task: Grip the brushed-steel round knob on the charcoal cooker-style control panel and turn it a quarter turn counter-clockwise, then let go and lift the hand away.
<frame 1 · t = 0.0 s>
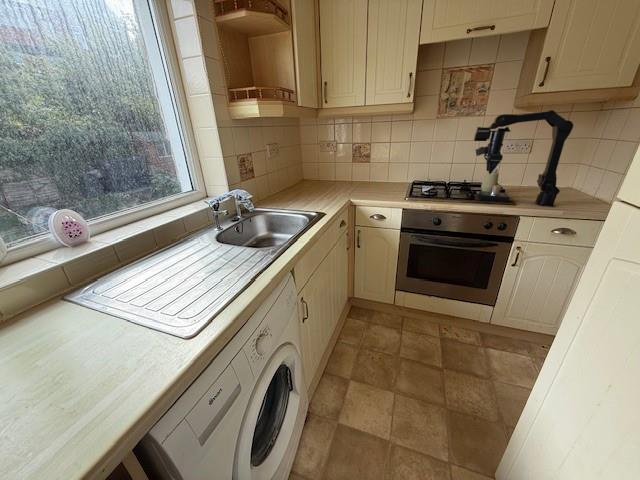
hand: (488, 172, 141), 15 cm above the countertop, tool pointing down, fingers open, 9 cm apart
dial: (495, 189, 144), point 5 cm above the countertop, hinge at 0.0°
control panel: (492, 199, 146), on the countertop
squeeze bottle: (487, 193, 159), on the countertop
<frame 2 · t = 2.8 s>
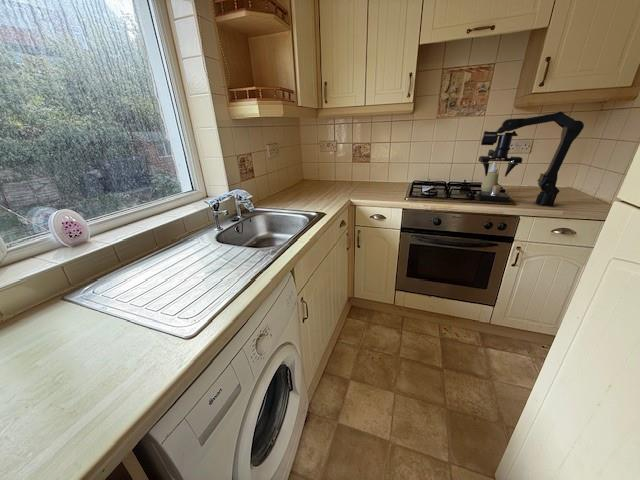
hand: (495, 176, 141), 13 cm above the countertop, tool pointing down, fingers open, 9 cm apart
nothing on the countertop moved.
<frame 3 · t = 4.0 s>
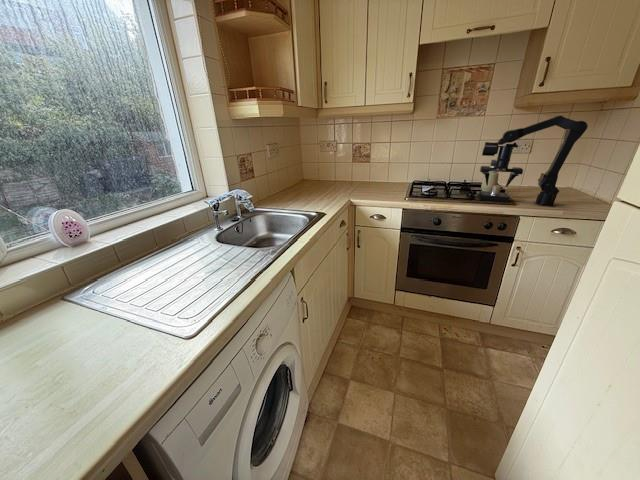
hand: (496, 186, 143), 7 cm above the countertop, tool pointing down, fingers open, 9 cm apart
nothing on the countertop moved.
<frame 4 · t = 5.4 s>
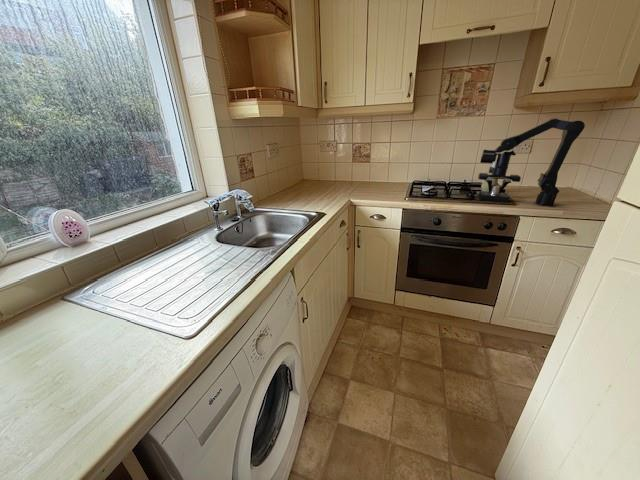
hand: (494, 193, 144), 4 cm above the countertop, tool pointing down, fingers closed on dial, 4 cm apart
dial: (495, 189, 144), point 5 cm above the countertop, hinge at 0.0°, touching gripper
everything else where it was.
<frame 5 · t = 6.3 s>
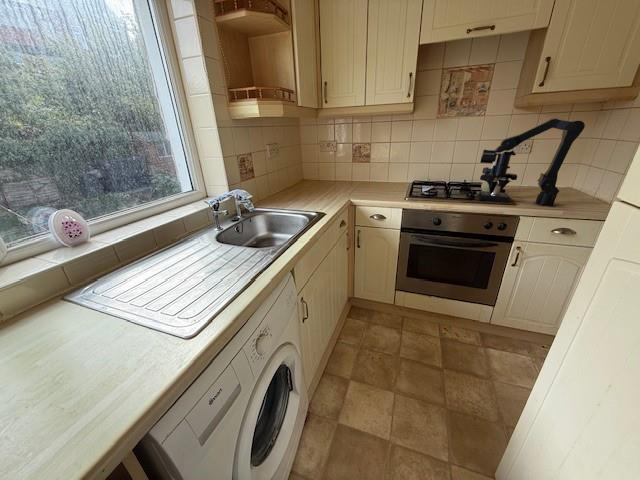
hand: (494, 193, 144), 4 cm above the countertop, tool pointing down, fingers closed on dial, 4 cm apart
dial: (495, 189, 144), point 5 cm above the countertop, hinge at 36.7°, touching gripper
everything else where it was.
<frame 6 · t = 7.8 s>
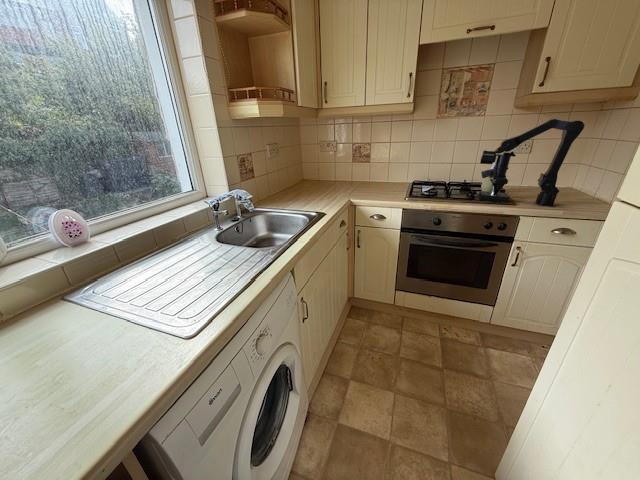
hand: (493, 193, 145), 3 cm above the countertop, tool pointing down, fingers open, 5 cm apart
dial: (495, 189, 144), point 5 cm above the countertop, hinge at 90.6°
everything else where it was.
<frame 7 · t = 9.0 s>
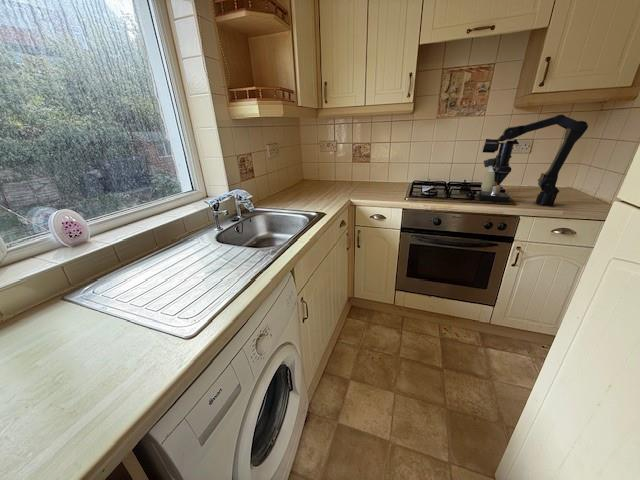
hand: (496, 183, 142), 9 cm above the countertop, tool pointing down, fingers open, 9 cm apart
nothing on the countertop moved.
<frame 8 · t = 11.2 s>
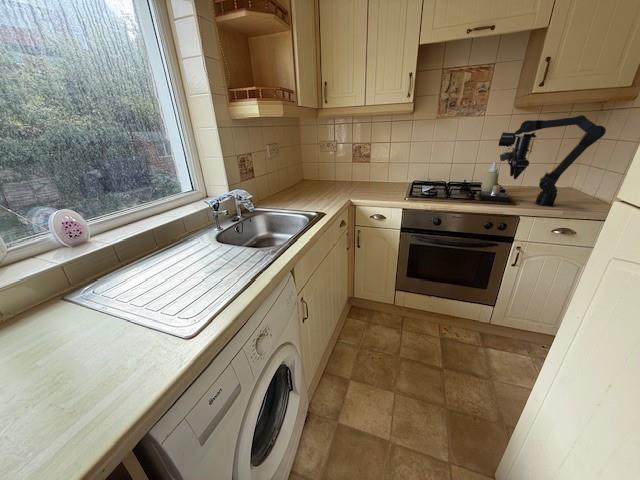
hand: (512, 177, 140), 12 cm above the countertop, tool pointing down, fingers open, 9 cm apart
nothing on the countertop moved.
at the end: dial at +91° (first picture: +0°); the gripper is holding nothing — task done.
